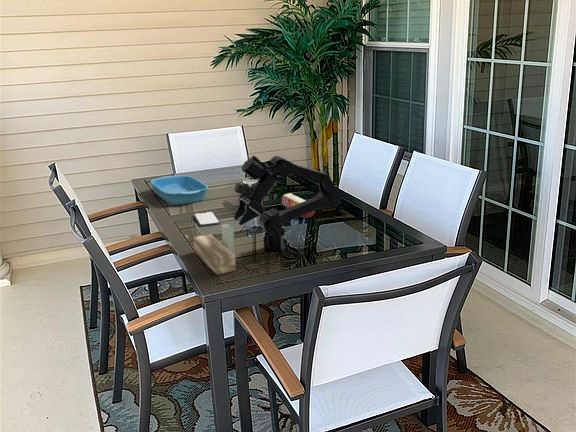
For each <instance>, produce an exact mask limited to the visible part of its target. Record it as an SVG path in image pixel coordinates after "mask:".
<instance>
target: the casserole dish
mask: <svg viewBox="0 0 576 432" xmlns="http://www.w3.org/2000/svg"><path fill="white" fill-rule="evenodd" d="M150 184H151V186H152V189H153V191H154V192H155V194H156V195H157V196H159V198H161V199H162V200H164V201H165V202H166V203H167V204H170V205H173V206H179V205H187V204H192V203H197V202H202V201H203V200H204V199H205V198H206V195H207V192H208V188H209V187H208V185H206V184H205V183H203V182H202V181H200V180H198V179H197V178H195V177H193V176H190V175H168V176H167V175H166V176H160V177H158V178H154V179H152V180H150Z"/></svg>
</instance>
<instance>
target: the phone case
mask: <svg viewBox="0 0 576 432" xmlns="http://www.w3.org/2000/svg"><path fill="white" fill-rule="evenodd" d="M193 218H194V219H195V221H196V223H197V224H198V226H199V227H201V228H204V227H205V228H206V227H212V226H219V225H220V224H221V222H220V221H219V219H218V217H217V216H216V215H215V213H214V212H213V211H206V212H197V213H194V214H193Z"/></svg>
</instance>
